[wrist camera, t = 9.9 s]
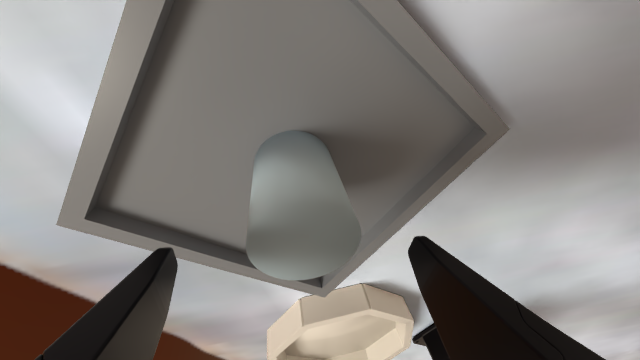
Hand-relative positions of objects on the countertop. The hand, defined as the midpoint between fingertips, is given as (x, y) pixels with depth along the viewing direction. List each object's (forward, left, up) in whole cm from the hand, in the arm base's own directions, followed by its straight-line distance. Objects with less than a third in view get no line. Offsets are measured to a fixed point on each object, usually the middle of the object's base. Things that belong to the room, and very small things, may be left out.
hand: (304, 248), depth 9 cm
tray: (0, 0, -7) cm, 7 cm away
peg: (0, 0, -6) cm, 6 cm away
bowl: (-16, +15, -7) cm, 23 cm away
